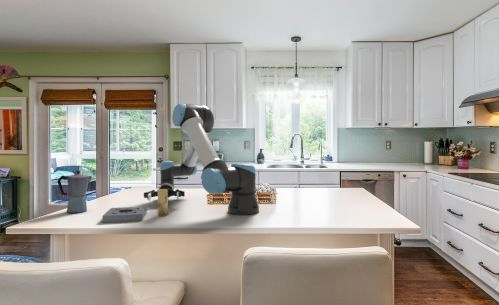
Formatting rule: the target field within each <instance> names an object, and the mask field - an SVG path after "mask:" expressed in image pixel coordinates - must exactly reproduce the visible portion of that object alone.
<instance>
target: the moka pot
mask: <svg viewBox="0 0 499 305" xmlns="http://www.w3.org/2000/svg"><path fill="white" fill-rule="evenodd" d="M92 179H93V176H91V175H87V174H81V170H76V174H72V175H71V174H70V175H61V176H60V177H59V178H58V179H57V185H58V188H59V191H60V193H61V195H62V196H67V195H68V194H69V197H68V203H67V207H66V213H71V214H78V213H84V212H85V213H86V212H87V210H88V207H87V196H86V195H87V190H88V186H89V184H90V181H91V180H92ZM62 180H64V181H67V186H68V192H69V193H68V192H64V188H63V186H62V182H61V181H62Z"/></svg>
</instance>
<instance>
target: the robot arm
mask: <svg viewBox="0 0 499 305" xmlns="http://www.w3.org/2000/svg"><path fill="white" fill-rule="evenodd" d="M172 124H173V126H175V127H176V128H177V127H180V129H181V131H182V132H183V134H186V135H187V136H188V138H189V141H190V142H189V145H188V148H187V150H186V153H185V156H184V157H183V160H182V163H174V161H173V160H162V161H161V162H160V166H159V167H160V169H159V170H160V186H159V189H167V190H168V199H169V198H171V197H176V200H177V201H178V200H179V198H181V197H183V198H184V197H185V194H186V193H185V191H184V190H181V189H178V188H177V189H175V178H176V177H185V176H190V177H191V176H194V175H196V173H197V169H198V168H197V164H196V163H197V161H198V159H199V161H200V163H201V165H202V167H203V168H202V170H201V171H202V172H201V174H200V175H201V176H200V180H201V185H202V188H203V189H204V190H205V191H206V192H207V193H208V194H211V195H220V194H226V193H231V194H230V195H231V196H230V200H229V203H228V205H227V212H228V213H229V214H232V215H238V216H239V215H241V216H243V215H245V216H247V215H255V214H258V213H259V212H260V205H259V203H258V200H257V197H256V176H257V174H256V167H255V166H254V165H252V164H243V163H231V165H230V166H228V165H227V163H226V161H225V160H223V159H220V157H219V155H218V153H217V151H216V149H215V148H214V146H213V144H212V141H211V140H210V138H209V136H208V135H209V134H210V133H211V132H212V131H213V128H214V127H215V126H214V124H215V117H214V113H213V112H212V110H211V109H210V108H209V107H208V106H206V105H202V104H192V103H191V104H190V103H177V104H176V105H175V106H174V108H173V111H172ZM155 197H157V198H158V189H157V190H155V189H152V190H150V191H146V192H143V199H147V201H148V202H149V201H150V200H151V199H152V198H155Z"/></svg>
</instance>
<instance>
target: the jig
mask: <svg viewBox="0 0 499 305" xmlns="http://www.w3.org/2000/svg"><path fill="white" fill-rule="evenodd" d="M147 212H148V208H147V206H128V207H127V206H123V207H122V206H121V207H110V208H109V210H107V211H106V212H105V213H104V214H103V215H102V224H105V223H106V224H107V223H108V224H109V223H111V224H112V223H130V222H143V220H144V218H145V217H146V216H147Z"/></svg>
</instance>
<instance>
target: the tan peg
mask: <svg viewBox="0 0 499 305" xmlns="http://www.w3.org/2000/svg"><path fill="white" fill-rule="evenodd" d="M157 190H158V197H157V216H158V217H167V216H168V215H169V213H168V212H169V209H168V207H169V206H168V205H169V202H168V201H169V198H168V190H167V189H157Z"/></svg>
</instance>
